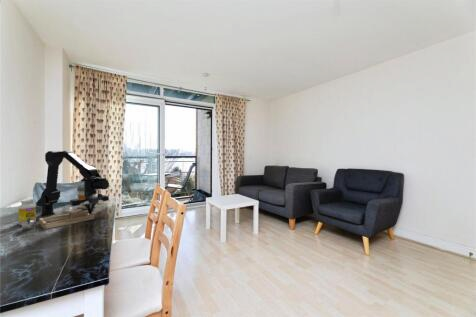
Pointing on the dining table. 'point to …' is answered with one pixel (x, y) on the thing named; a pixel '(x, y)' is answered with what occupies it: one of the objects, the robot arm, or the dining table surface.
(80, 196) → the reusable coffee cup
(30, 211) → the supplement bottle
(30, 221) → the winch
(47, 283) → the dining table surface
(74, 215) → the cardboard box
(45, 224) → the bay
